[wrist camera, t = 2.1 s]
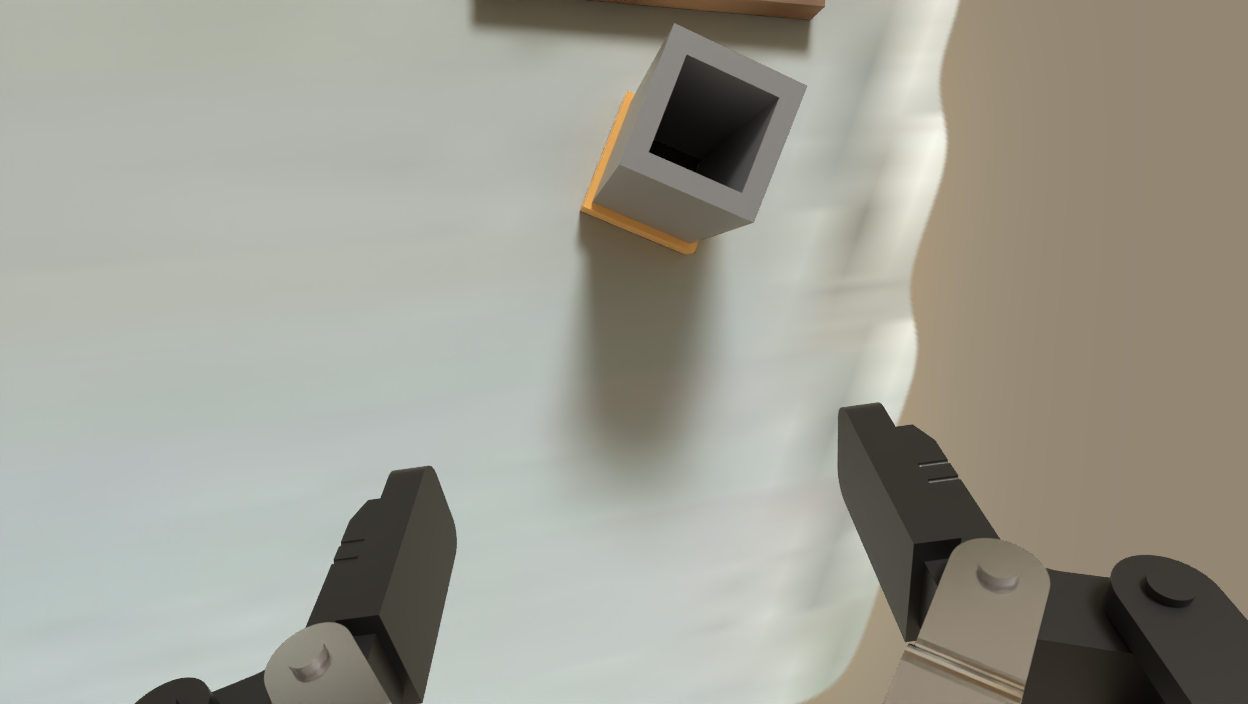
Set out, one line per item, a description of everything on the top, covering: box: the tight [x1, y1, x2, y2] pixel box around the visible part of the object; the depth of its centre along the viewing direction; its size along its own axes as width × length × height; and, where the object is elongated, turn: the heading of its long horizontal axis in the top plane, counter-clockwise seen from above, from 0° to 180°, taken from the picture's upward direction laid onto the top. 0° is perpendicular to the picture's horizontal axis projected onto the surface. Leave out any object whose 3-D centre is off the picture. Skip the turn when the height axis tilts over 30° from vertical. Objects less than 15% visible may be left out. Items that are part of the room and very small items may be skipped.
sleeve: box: [580, 23, 807, 255], centre depth 27 cm, size 5×5×10 cm
